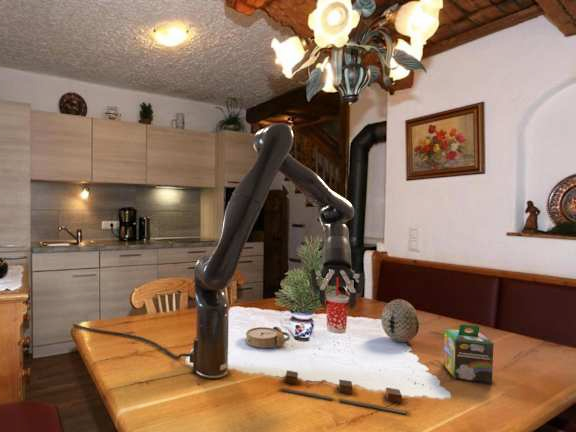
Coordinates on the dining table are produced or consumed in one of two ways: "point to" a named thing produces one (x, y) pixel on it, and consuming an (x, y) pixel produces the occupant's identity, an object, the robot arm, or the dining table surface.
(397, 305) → the decorative egg
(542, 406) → the dining table surface
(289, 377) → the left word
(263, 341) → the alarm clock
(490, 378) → the chalk box
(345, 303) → the beverage cup
